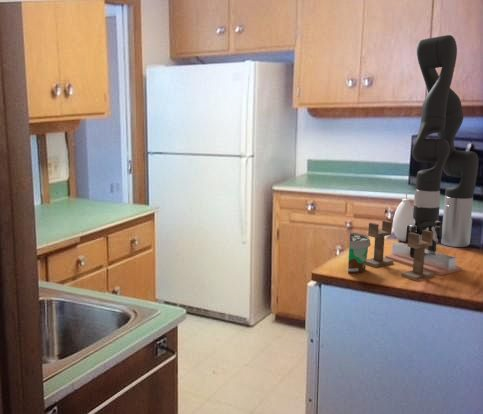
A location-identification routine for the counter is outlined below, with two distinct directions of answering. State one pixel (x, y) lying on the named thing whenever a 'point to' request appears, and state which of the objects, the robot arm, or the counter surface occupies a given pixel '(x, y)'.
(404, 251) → the steel rail
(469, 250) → the counter surface
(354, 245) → the food container
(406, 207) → the sauce bottle
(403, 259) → the rust mat
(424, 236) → the cradle stands
